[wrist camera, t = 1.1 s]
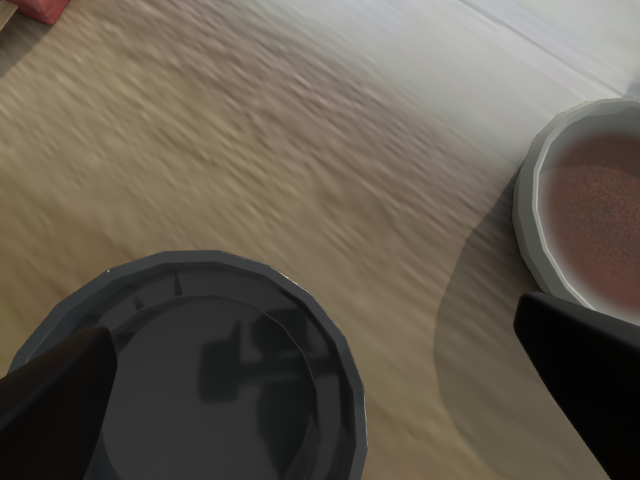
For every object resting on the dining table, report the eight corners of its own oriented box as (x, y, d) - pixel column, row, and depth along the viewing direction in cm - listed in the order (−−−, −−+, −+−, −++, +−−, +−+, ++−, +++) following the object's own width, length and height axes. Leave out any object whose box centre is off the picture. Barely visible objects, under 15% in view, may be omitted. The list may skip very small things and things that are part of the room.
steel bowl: (390, 493, 21) (420, 538, 17) (91, 640, 18) (35, 740, 14) (292, 227, 24) (296, 207, 19) (15, 321, 21) (-54, 322, 17)
